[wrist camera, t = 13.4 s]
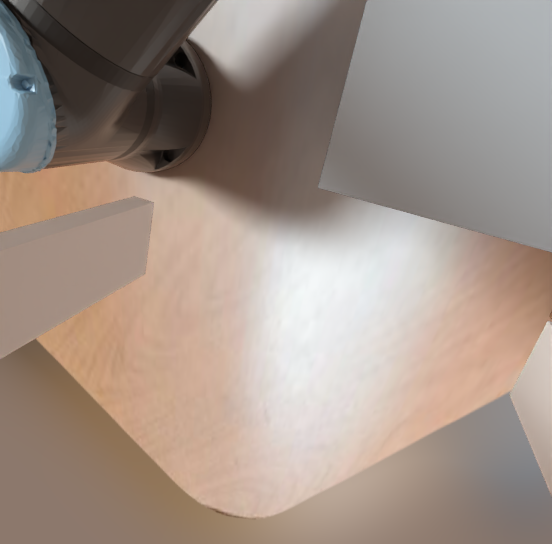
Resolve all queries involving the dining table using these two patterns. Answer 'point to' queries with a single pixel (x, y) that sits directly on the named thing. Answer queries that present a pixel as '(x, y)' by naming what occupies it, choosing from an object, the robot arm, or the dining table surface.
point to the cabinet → (451, 115)
